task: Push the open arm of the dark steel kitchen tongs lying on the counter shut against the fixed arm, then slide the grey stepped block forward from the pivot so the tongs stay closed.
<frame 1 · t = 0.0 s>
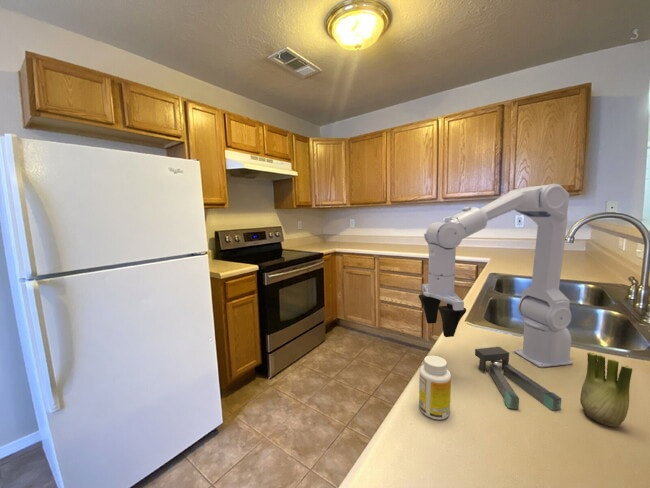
hand: (439, 329, 66), 10 cm above the counter, tool pointing down, fingers open, 7 cm apart
fennel bulb: (599, 420, 50), on the counter
supplement bottle: (433, 411, 53), on the counter
grey stepped block: (491, 359, 67), point 2 cm above the counter, slide at 0.0 cm
tongs base: (495, 370, 66), on the counter
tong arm: (501, 384, 59), point 1 cm above the counter, hinge at -22.0°
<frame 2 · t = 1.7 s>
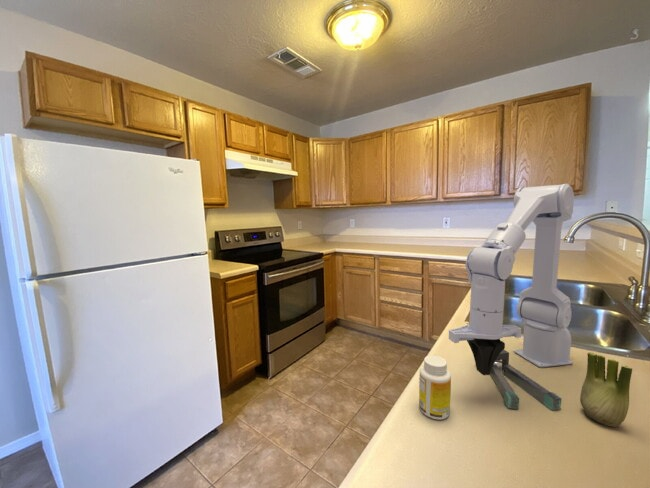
hand: (482, 372, 56), 5 cm above the counter, tool pointing down, fingers closed
nothing on the counter moved.
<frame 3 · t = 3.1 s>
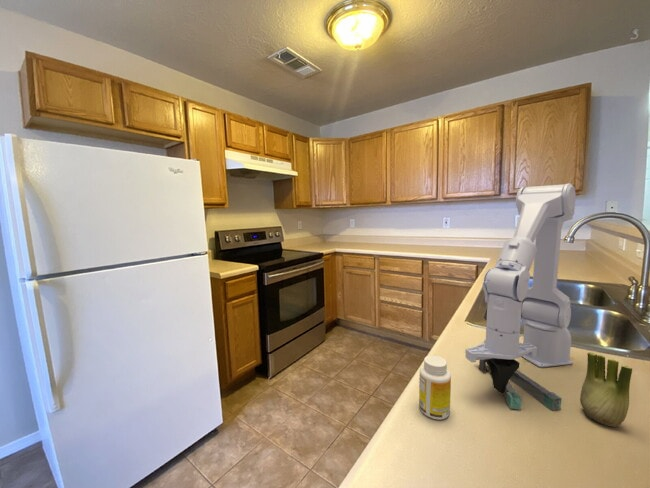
hand: (498, 390, 57), 1 cm above the counter, tool pointing down, fingers closed, pressing on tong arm
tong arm: (502, 384, 59), point 1 cm above the counter, hinge at -20.3°, touching gripper
everything else where it was.
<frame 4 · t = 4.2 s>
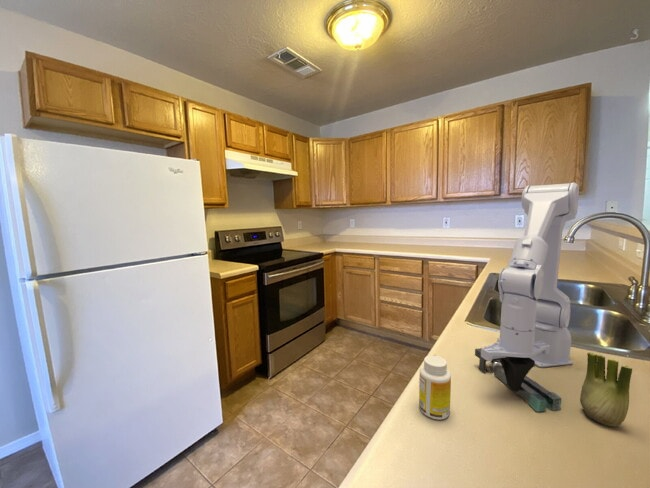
hand: (513, 388, 58), 1 cm above the counter, tool pointing down, fingers closed
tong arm: (516, 386, 58), point 1 cm above the counter, hinge at -1.6°, touching gripper
everything else where it was.
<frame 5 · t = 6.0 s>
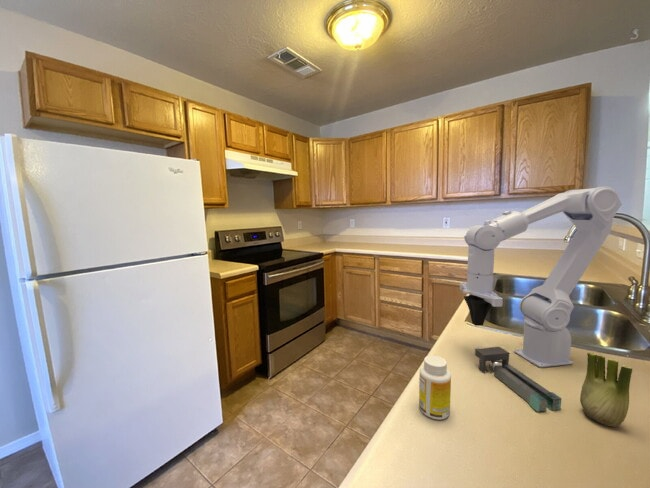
hand: (477, 324, 71), 9 cm above the counter, tool pointing down, fingers closed
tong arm: (516, 386, 58), point 1 cm above the counter, hinge at -1.5°
everything else where it was.
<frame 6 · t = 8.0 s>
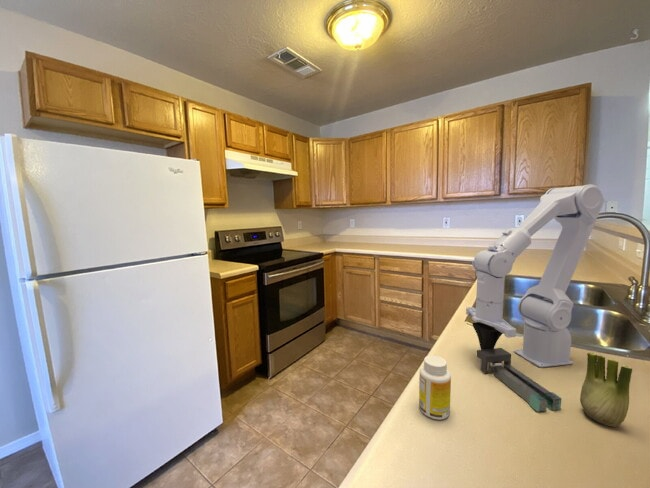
hand: (486, 352, 69), 3 cm above the counter, tool pointing down, fingers closed
grey stepped block: (493, 360, 66), point 2 cm above the counter, slide at 0.6 cm, touching gripper
everything else where it was.
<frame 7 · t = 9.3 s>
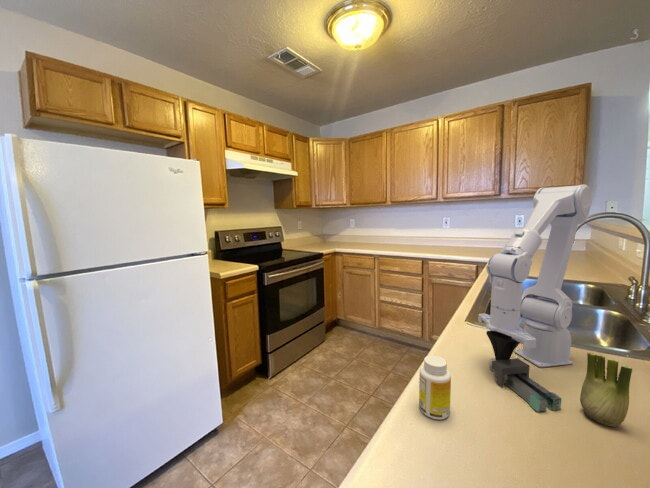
hand: (502, 363, 64), 3 cm above the counter, tool pointing down, fingers closed
grey stepped block: (509, 372, 62), point 2 cm above the counter, slide at 5.6 cm, touching gripper
everything else where it was.
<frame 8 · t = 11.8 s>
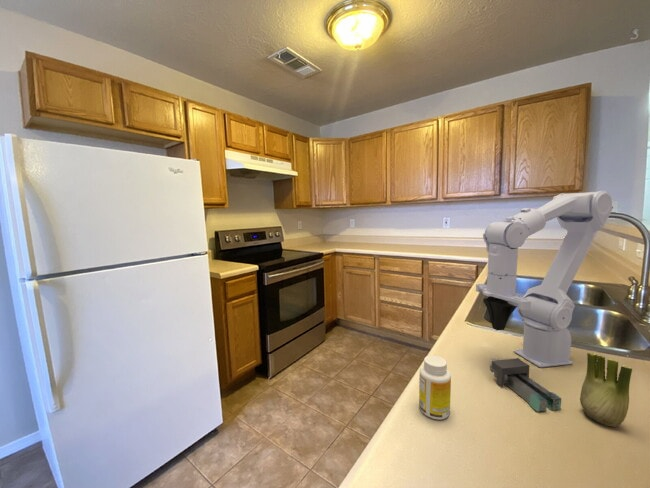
hand: (498, 328, 66), 10 cm above the counter, tool pointing down, fingers closed
grey stepped block: (509, 372, 62), point 2 cm above the counter, slide at 5.6 cm
everything else where it was.
at the end: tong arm at -2° (first picture: -22°); grey stepped block slide at 5.6 cm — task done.
